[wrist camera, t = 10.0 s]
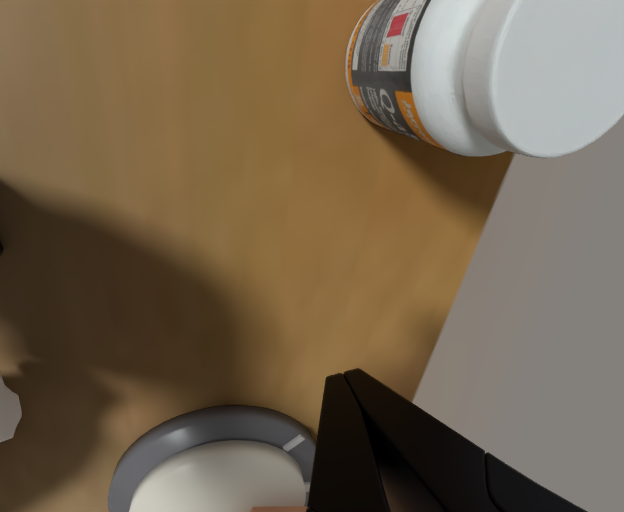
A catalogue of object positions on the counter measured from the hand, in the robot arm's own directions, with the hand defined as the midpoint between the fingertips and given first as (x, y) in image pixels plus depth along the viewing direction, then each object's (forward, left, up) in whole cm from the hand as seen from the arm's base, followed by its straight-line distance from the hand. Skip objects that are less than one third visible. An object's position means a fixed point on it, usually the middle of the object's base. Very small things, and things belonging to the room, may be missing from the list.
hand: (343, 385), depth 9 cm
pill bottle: (+7, +6, -12) cm, 15 cm away
